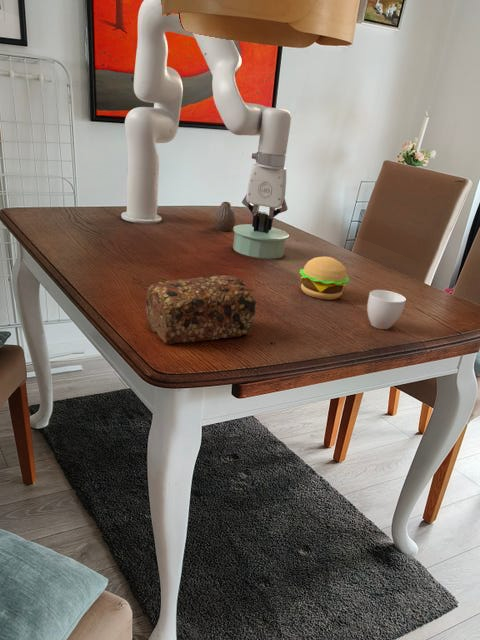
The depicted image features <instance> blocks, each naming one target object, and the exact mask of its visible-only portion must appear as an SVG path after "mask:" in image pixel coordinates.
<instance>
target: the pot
mask: <svg viewBox="0 0 480 640" xmlns="http://www.w3.org/2000/svg"><path fill="white" fill-rule="evenodd" d="M286 244H287V239H286V240H282V241H266V240H258V239H252V238H248V237H245V236H242V235H239V234H237V233H235V232H234V236H233V243H232V248H233V250H234V251H235V252H236V253H238V254H241V255H243V256H244V255H245V256H247V257H253V258H257V259H268V260H269V259H281V258H283V256H284V255H285V250H286Z"/></svg>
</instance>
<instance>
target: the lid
mask: <svg viewBox="0 0 480 640" xmlns="http://www.w3.org/2000/svg"><path fill="white" fill-rule="evenodd" d="M258 213H259V217H258V225H257V230H256V231H253V230H254V227H252V223H251V224H250V223H249V224H248V223H245V224H238V225H234V228H233V229H232V231H233V232H234V233H237V234H239V235H242V236H245V237H248V238H252V239H258V240H266V241H282V240H286V241H287V240H288V239H289V237H290V235H289V233H288V232H287V231H285V230H283V229H280V228H276V227H273V226H272V228H271V230H269V232H268V233H265V228H266V221H267V218H268V216H269V212H265V211H258Z"/></svg>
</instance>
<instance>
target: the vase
mask: <svg viewBox="0 0 480 640" xmlns="http://www.w3.org/2000/svg"><path fill="white" fill-rule="evenodd" d="M213 226H214V228H215V230H216V231H219V232H226V233H227V232H228V233H229V232H231V231H233V228H234V226H236V213H235V211H234V209H233V207H232V204H231V202H229V201H222V202H221V204H220V206H218V207H217V209H216V210H215V212H214V214H213Z"/></svg>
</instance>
